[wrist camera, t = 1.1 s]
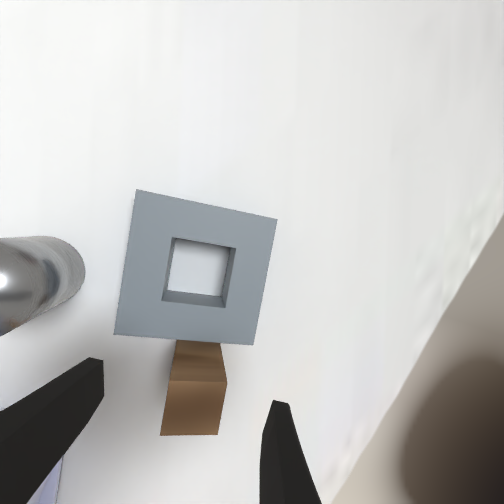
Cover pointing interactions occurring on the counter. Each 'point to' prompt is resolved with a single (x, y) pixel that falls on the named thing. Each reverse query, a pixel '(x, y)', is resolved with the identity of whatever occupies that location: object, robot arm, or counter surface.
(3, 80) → the counter surface
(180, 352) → the square peg
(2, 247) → the round peg
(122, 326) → the socket block
